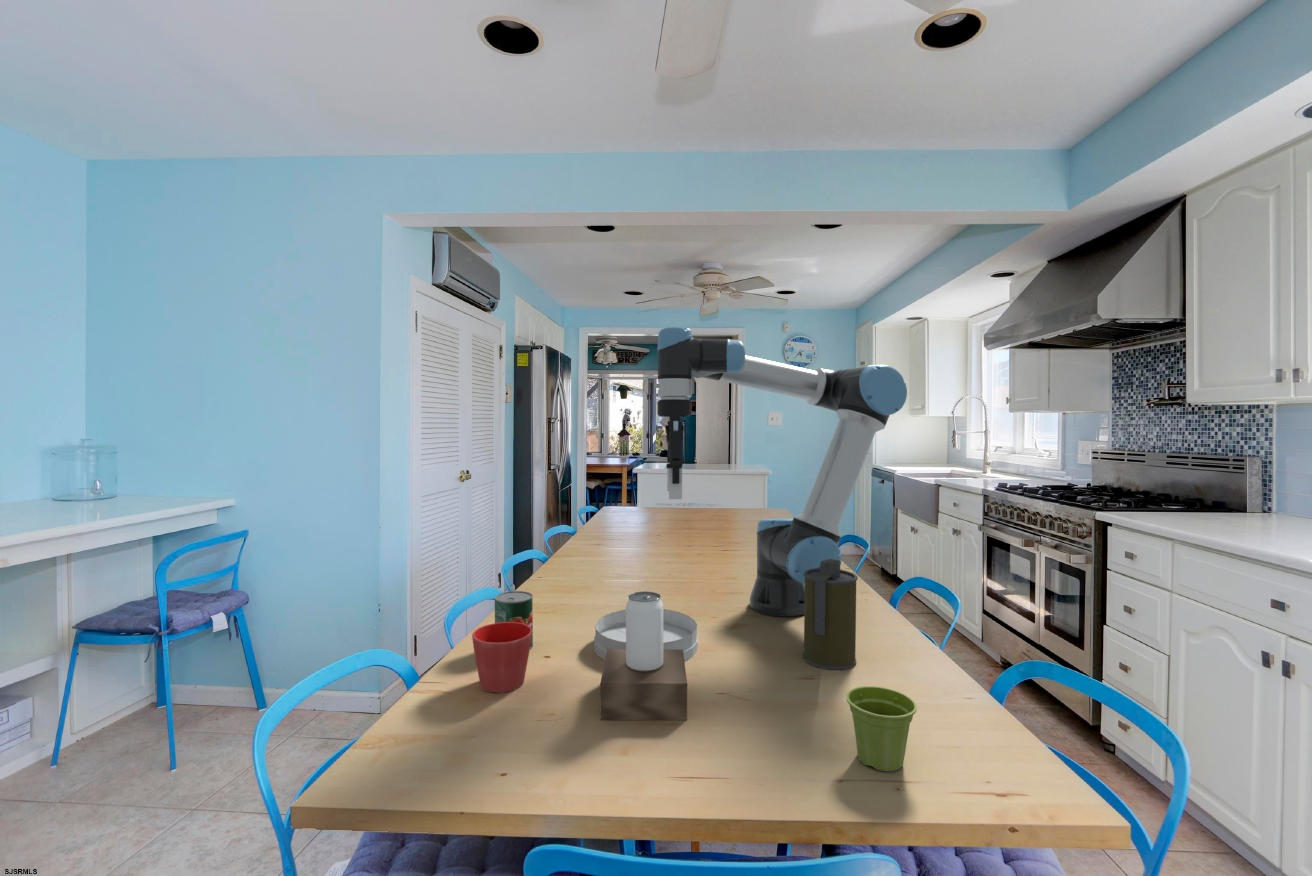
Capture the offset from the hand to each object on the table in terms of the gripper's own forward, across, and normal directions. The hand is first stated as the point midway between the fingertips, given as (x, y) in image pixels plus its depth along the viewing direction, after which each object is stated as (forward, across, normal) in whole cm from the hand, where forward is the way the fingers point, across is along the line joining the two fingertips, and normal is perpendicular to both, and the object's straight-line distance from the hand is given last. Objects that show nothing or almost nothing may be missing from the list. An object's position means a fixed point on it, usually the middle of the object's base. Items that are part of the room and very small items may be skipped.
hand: (674, 495), depth 131 cm
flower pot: (+32, +24, -32) cm, 51 cm away
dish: (+32, +6, -6) cm, 33 cm away
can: (+26, +30, -6) cm, 40 cm away
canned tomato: (+32, +7, -34) cm, 47 cm away
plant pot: (+32, +48, +28) cm, 64 cm away
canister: (+32, +13, +31) cm, 46 cm away
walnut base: (+32, +30, -6) cm, 44 cm away
